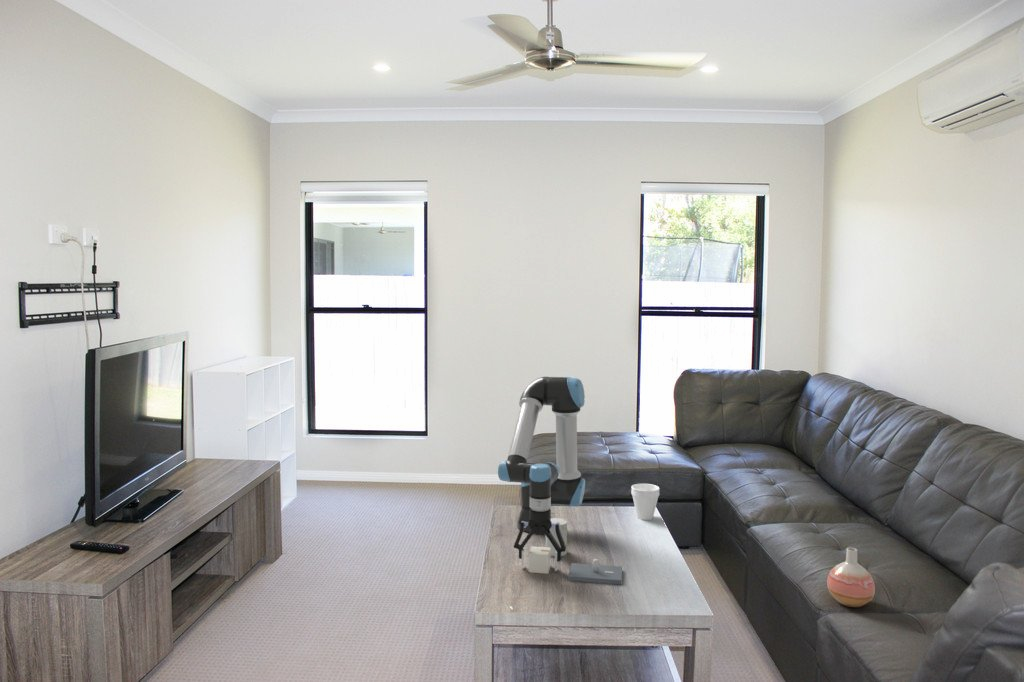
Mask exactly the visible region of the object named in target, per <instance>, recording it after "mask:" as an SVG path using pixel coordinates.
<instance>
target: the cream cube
mask: <svg viewBox="0 0 1024 682" xmlns="http://www.w3.org/2000/svg"><path fill="white" fill-rule="evenodd" d="M528 552H529V553H528V573H533V574H534V573H536V574H546V575H547V574H548V575H549V572H550V570H551V567H552V566H551V565H552V562H551V558H552V556H551V548H549V547H546V546H534V545H533V546H531V547H530V550H529V551H528Z"/></svg>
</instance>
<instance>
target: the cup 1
mask: <svg viewBox="0 0 1024 682" xmlns="http://www.w3.org/2000/svg"><path fill="white" fill-rule="evenodd" d="M551 523H554V524H556V523H559V524H560V532H561V534H562V537H563V540H564V543H565V546H566V550H565V551H564V552H561V557H563V556H566V555H567V553H568V521H567V519H565V518H560V517H559V518H558V517H552V518H551ZM550 532H551V534H552V535H553V537H554V538H555V540H556V542H557V543H558V545H559V546H560V543H559V540H558V537H557V535H556V531H555V530H554V529H553V527H551V528H550ZM545 547H549V548H551V557H555V552H556V550H555V548H554V546H553V545H552V543H551V542H550V540H549V539H548V537H547V536H546V535H545ZM560 547H561V546H560Z"/></svg>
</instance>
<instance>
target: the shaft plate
mask: <svg viewBox="0 0 1024 682" xmlns="http://www.w3.org/2000/svg"><path fill="white" fill-rule="evenodd" d="M567 577H568V578H567V579H568V581H569V582H582V583H585V582H586V583H597V584H610V585H622V583H623V581H622V580H623V578H622V577H623V566H620V565H607V564H600V559H598V558H593V559H592V563H578V562H575V563H574V562H571V564H570V568H569V573H568V576H567Z"/></svg>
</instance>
